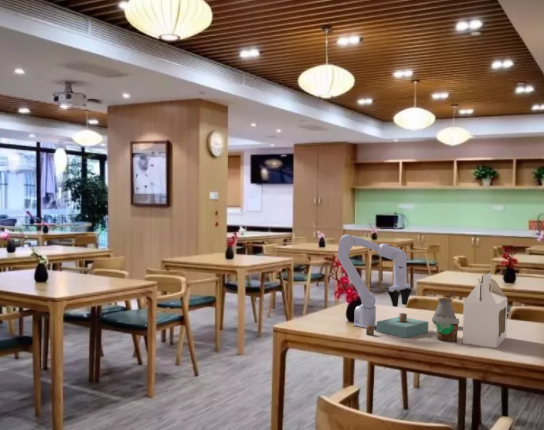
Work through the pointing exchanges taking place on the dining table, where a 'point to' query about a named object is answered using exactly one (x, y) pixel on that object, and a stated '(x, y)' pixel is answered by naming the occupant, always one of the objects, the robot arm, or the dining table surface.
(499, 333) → the gable box
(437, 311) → the coffee pot
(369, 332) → the short pin
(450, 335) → the food container
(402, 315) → the tall pin
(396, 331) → the hole plate
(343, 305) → the dining table surface
